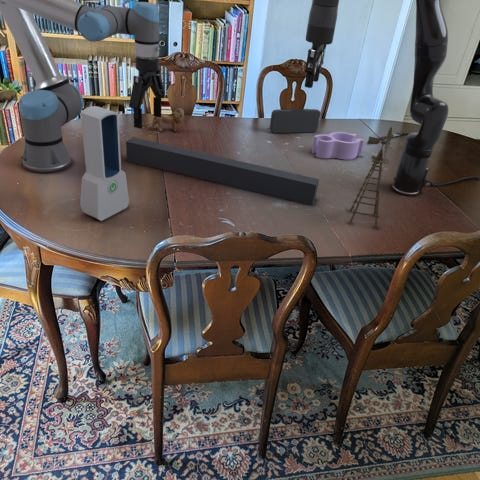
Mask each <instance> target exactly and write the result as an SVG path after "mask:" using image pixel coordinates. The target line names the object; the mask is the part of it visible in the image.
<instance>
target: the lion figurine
mask: <svg viewBox="0 0 480 480" xmlns="http://www.w3.org/2000/svg"><path fill="white" fill-rule="evenodd" d="M184 118H185V110H184V109H183V108H180V107H179V108H176V109H175V111H173V112H171V113H170V114H163V113H161V117H156V116H153V120H152V123H151V125H150V127H149V130H152V129H154V130H155V129H158V131H159V132H163V131H164V130H163V129H162V128H161V125H162V123H163V124H165V125H171V129H172V130H173V132H175V133H176V132H178V130H177V125H178V124H180V123H181V122H182V121H183V120H184ZM156 125H157V127H156Z"/></svg>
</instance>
